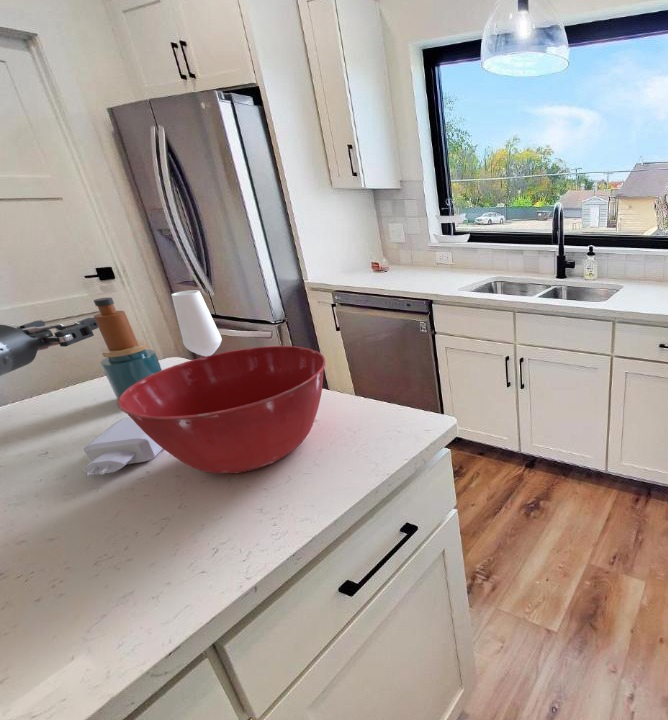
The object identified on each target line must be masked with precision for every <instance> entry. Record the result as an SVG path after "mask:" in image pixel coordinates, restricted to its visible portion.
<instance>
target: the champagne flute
mask: <svg viewBox="0 0 668 720" xmlns="http://www.w3.org/2000/svg"><path fill="white" fill-rule="evenodd" d="M171 299H172V303H173V307H174V312H175V315H176V319H177V323H178V327H179V331H180V335H181V340H182V343H183V346H184V348H185V349H187V350H188V351H189V352H191V353H194V354H196V355H199V356H202V357H206V356H210V355H214V354H215V353H216V351H217V350H218V348H220V346H221V344H222V335H221V334H220V331H219V329H218V327H217V325H216V322H215V321H214V319H213V317H212V314H211V312H210V309H209V307H208V306H207V304H206V302H205V299H204V297H203V295H202V293H201V291H200V290H199V289H191V290H183V291H182V290H181V291H178V292H174V293H171Z"/></svg>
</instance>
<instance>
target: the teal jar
mask: <svg viewBox="0 0 668 720" xmlns="http://www.w3.org/2000/svg"><path fill="white" fill-rule="evenodd" d="M137 342H138V345H136V346H134V347H131V348H127V349H123V350H114V351H112V350H109V349H108V347H107V346H105V347H103V348H101V349H99V353H100V356H101V357H103V358H104V359H102V360H101V361H100V363H99V364H100V366H101V368H102V370H103V372H104V375H105V376H106V379H107V381H108V383H109V385H110V387H111V389H112V391H113V394H114V397H115V398H116V400H117V401H118V400H119V397H120V396H121V395H122V393H123V392H124V391H125V390H127V389H128V388H129V387H130V386H132V385H134V384H135V383H137V382H139V381H140V380H142V379H144V378H146V377H148V376H150V375H152V374H154V373H157V372H159V371H161V370H163V368H162V366H161V364H160V362H159V359H158V356H157V354H156V351H155V350H154V349H148V347H149V345H148V342H147V341H146V340H137Z"/></svg>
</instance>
